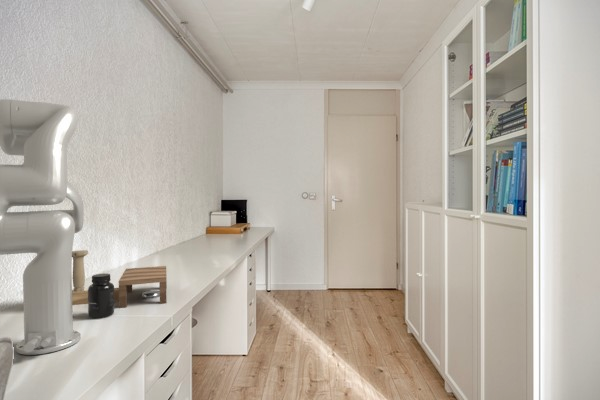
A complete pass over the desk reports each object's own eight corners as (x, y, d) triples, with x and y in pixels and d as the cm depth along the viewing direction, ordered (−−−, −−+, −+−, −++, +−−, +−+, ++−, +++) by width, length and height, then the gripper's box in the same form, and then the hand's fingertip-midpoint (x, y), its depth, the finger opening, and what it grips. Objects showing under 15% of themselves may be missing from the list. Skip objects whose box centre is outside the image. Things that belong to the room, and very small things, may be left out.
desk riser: (166, 303, 120) (165, 277, 120) (119, 308, 116) (118, 281, 116) (166, 287, 141) (166, 265, 141) (126, 291, 136) (126, 268, 136)
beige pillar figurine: (85, 292, 136) (84, 252, 136) (66, 293, 135) (65, 252, 135) (90, 289, 141) (90, 250, 141) (72, 290, 140) (72, 250, 140)
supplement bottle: (85, 320, 105) (84, 278, 104) (91, 313, 111) (91, 273, 111) (111, 317, 106) (110, 276, 106) (116, 310, 113) (116, 271, 113)
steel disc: (160, 298, 127) (160, 293, 127) (141, 300, 125) (141, 295, 125) (160, 294, 133) (160, 289, 133) (142, 296, 131) (142, 291, 131)
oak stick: (125, 300, 125) (125, 288, 125) (41, 308, 117) (40, 296, 117) (126, 298, 128) (126, 286, 128) (43, 306, 119) (43, 294, 119)
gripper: (58, 251, 113) (59, 311, 113) (71, 245, 128) (72, 297, 128) (29, 252, 110) (30, 314, 110) (46, 246, 125) (47, 300, 125)
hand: (53, 304), depth 119 cm, fingers closed on oak stick, 2 cm apart
